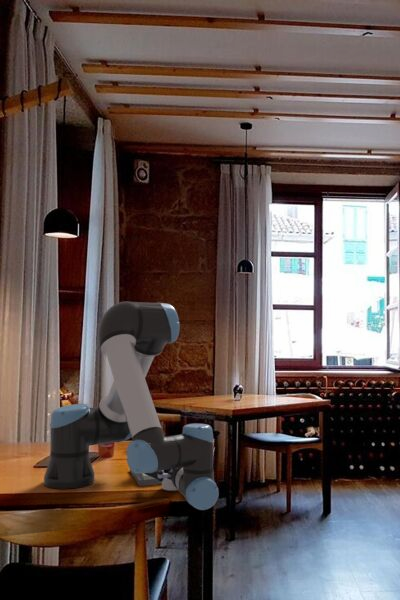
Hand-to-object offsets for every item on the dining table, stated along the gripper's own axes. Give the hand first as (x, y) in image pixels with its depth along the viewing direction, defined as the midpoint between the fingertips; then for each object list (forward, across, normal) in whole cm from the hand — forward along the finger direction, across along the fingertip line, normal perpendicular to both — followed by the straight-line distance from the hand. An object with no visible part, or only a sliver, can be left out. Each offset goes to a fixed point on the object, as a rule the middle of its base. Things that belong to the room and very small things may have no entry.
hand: (169, 461), depth 161 cm
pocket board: (+11, -3, -7) cm, 13 cm away
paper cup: (+46, -14, -7) cm, 49 cm away
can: (-4, 0, -7) cm, 8 cm away
